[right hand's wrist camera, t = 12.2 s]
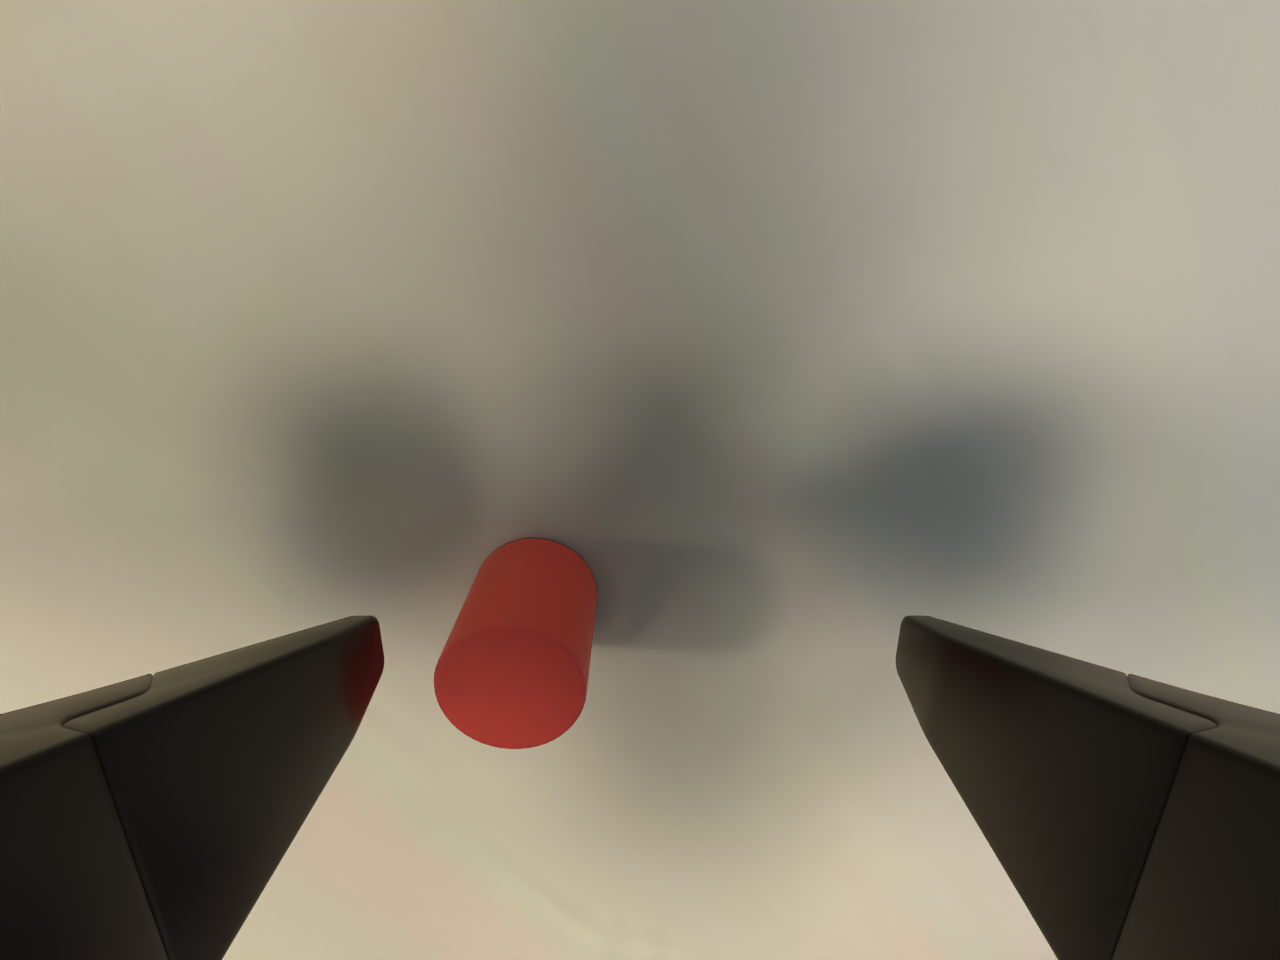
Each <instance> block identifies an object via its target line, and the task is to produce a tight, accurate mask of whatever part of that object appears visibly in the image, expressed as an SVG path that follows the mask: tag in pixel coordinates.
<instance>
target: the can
mask: <svg viewBox="0 0 1280 960" xmlns="http://www.w3.org/2000/svg"><path fill="white" fill-rule="evenodd" d="M596 602H597V588H596V583H595V580H594V577H593V575H592V572H591V570H590V569H589V567H588V566H587V564H586V563H585V562H584V561H583V560H582V559H581V558H580V557H579V556H578V555H577V554H576V553H575V552H573V551H572V550H570V549H569V548H567V547H565V546H563V545H561V544H559V543H556V542H553V541H549V540H544V539H522V540H517V541H513V542H511V543H508V544H505V545H504V546H502V547H500V548H498V549H497V550H495V551H494V552H493V553H492V554H491V555H490V556H488V557H487V559H486V560H485V561H484V563H483V564H482V566H481V568H480V569H479V572H478V574H477V576H476V578H475V580H474V583H473V585H472V587H471V589H470V591H469V594H468V596H467V598H466V600H465V603H464V605H463V607H462V609H461V611H460V614H459V616H458V618H457V620H456V622H455V625H454V627H453V629H452V631H451V633H450V636H449V638H448V640H447V642H446V644H445V647H444V649H443V651H442V653H441V655H440V658H439V660H438V663H437V665H436V669H435V674H434V688H435V694H436V698H437V701H438V703H439V706H440V708H441V710H442V711H443V713H444V714H445V716H446V717H447V718H448V720H449V721H450V722H451V723H452V724H453V725H454V726H455V727H456V728H457V729H458V730H460V731H461V732H463V733H464V734H465V735H467V736H469V737H470V738H472V739H474V740H476V741H479V742H481V743H484V744H487V745H490V746H494V747H499V748H507V749H523V748H531V747H535V746H539V745H542V744H545V743H548V742H550V741H552V740H554V739H556V738H557V737H559V736H561V735H562V734H563V733H564V732H566V731H567V730H568V729H569V728H570V727H571V726H572V725H573V724H574V723H575V721H576V720H577V718H578V717H579V715H580V713H581V711H582V709H583V707H584V703H585V700H586V693H587V684H588V675H589V665H590V656H591V647H592V638H593V629H594V620H595V611H596Z"/></svg>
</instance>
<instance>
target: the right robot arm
mask: <svg viewBox="0 0 1280 960" xmlns="http://www.w3.org/2000/svg"><path fill="white" fill-rule="evenodd" d="M383 668H384V653H383V647H382V640H381V634H380V627H379V623H378V620H377V619H376V617H374V616H350V617H346V618H343V619H339V620H336V621H333V622H329V623H326V624H322V625H319V626H315V627H312V628H308V629H305V630H302V631H298V632H295V633H291V634H288V635H284V636H281V637H278V638H274V639H271V640H267V641H264V642H260V643H257V644H253V645H250V646H247V647H243V648H240V649H236V650H233V651H229V652H226V653H222V654H219V655H216V656H212V657H209V658H205V659H202V660H198V661H195V662H191V663H188V664H185V665H181V666H178V667H174V668H171V669H167V670H164V671H160V672H157V673H155V674H154V676H153V675H151V674H147V675H144V676H140V677H137V678H133V679H130V680H126V681H123V682H119V683H116V684H112V685H108V686H105V687H101V688H98V689H94V690H91V691H87V692H83V693H80V694H76V695H72V696H68V697H65V698H61V699H57V700H53V701H50V702H46V703H42V704H38V705H34V706H31V707H27V708H23V709H19V710H15V711H11V712H7V713H3V714H0V960H222V959H223V957H224V955H225V953H226V952H227V950H228V948H229V947H230V945H231V943H232V942H233V940H234V938H235V937H236V935H237V933H238V932H239V930H240V928H241V927H242V925H243V923H244V922H245V920H246V918H247V917H248V915H249V913H250V911H251V910H252V908H253V906H254V905H255V903H256V901H257V900H258V898H259V896H260V895H261V893H262V891H263V890H264V888H265V886H266V885H267V883H268V881H269V880H270V878H271V876H272V875H273V873H274V871H275V869H276V868H277V866H278V864H279V863H280V861H281V859H282V858H283V856H284V854H285V853H286V851H287V849H288V848H289V846H290V844H291V843H292V841H293V839H294V838H295V836H296V834H297V833H298V831H299V829H300V827H301V826H302V824H303V822H304V821H305V819H306V817H307V816H308V814H309V812H310V811H311V809H312V807H313V806H314V804H315V802H316V801H317V799H318V797H319V796H320V794H321V792H322V791H323V789H324V787H325V786H326V784H327V782H328V780H329V779H330V777H331V775H332V774H333V772H334V770H335V769H336V767H337V765H338V764H339V762H340V760H341V759H342V757H343V755H344V754H345V752H346V750H347V749H348V747H349V745H350V743H351V741H352V740H353V738H354V736H355V734H356V732H357V730H358V728H359V725H360V723H361V721H362V719H363V716H364V714H365V712H366V709H367V707H368V705H369V702H370V700H371V698H372V696H373V693H374V691H375V689H376V686H377V684H378V682H379V679H380V677H381V675H382V672H383ZM896 668H897V672H898V675H899V677H900V679H901V682H902V684H903V686H904V689H905V691H906V693H907V696H908V698H909V700H910V702H911V705H912V707H913V709H914V712H915V714H916V716H917V719H918V721H919V723H920V725H921V728H922V730H923V732H924V734H925V736H926V738H927V740H928V741H929V743H930V745H931V747H932V749H933V750H934V752H935V754H936V755H937V757H938V759H939V760H940V762H941V764H942V765H943V767H944V769H945V770H946V772H947V774H948V775H949V777H950V779H951V780H952V782H953V784H954V786H955V787H956V789H957V791H958V792H959V794H960V796H961V797H962V799H963V801H964V802H965V804H966V806H967V807H968V809H969V811H970V812H971V814H972V816H973V817H974V819H975V821H976V822H977V824H978V826H979V828H980V829H981V831H982V833H983V834H984V836H985V838H986V839H987V841H988V843H989V844H990V846H991V848H992V849H993V851H994V853H995V854H996V856H997V858H998V859H999V861H1000V863H1001V864H1002V866H1003V868H1004V870H1005V871H1006V873H1007V875H1008V876H1009V878H1010V880H1011V881H1012V883H1013V885H1014V886H1015V888H1016V890H1017V891H1018V893H1019V895H1020V896H1021V898H1022V900H1023V901H1024V903H1025V905H1026V906H1027V908H1028V910H1029V912H1030V913H1031V915H1032V917H1033V918H1034V920H1035V922H1036V923H1037V925H1038V927H1039V928H1040V930H1041V932H1042V933H1043V935H1044V937H1045V938H1046V940H1047V942H1048V943H1049V945H1050V947H1051V948H1052V950H1053V952H1054V954H1055V955H1056V957H1057V959H1058V960H1280V714H1277V713H1273V712H1269V711H1265V710H1261V709H1257V708H1253V707H1249V706H1245V705H1242V704H1238V703H1234V702H1230V701H1227V700H1223V699H1219V698H1215V697H1212V696H1208V695H1204V694H1200V693H1197V692H1193V691H1189V690H1186V689H1182V688H1179V687H1175V686H1172V685H1168V684H1164V683H1161V682H1157V681H1154V680H1150V679H1147V678H1143V677H1140V676H1136V675H1133V674H1129V675H1127V676H1126V674H1125V673H1123V672H1120V671H1116V670H1113V669H1109V668H1106V667H1102V666H1099V665H1095V664H1092V663H1089V662H1085V661H1082V660H1078V659H1075V658H1071V657H1068V656H1064V655H1061V654H1058V653H1054V652H1051V651H1047V650H1044V649H1040V648H1037V647H1033V646H1030V645H1027V644H1023V643H1020V642H1016V641H1013V640H1009V639H1006V638H1002V637H999V636H996V635H992V634H989V633H985V632H982V631H978V630H975V629H971V628H968V627H965V626H961V625H958V624H954V623H951V622H947V621H944V620H941V619H937V618H934V617H930V616H906V617H904V619H903V620H902V623H901V627H900V633H899V640H898V646H897V653H896Z"/></svg>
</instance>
